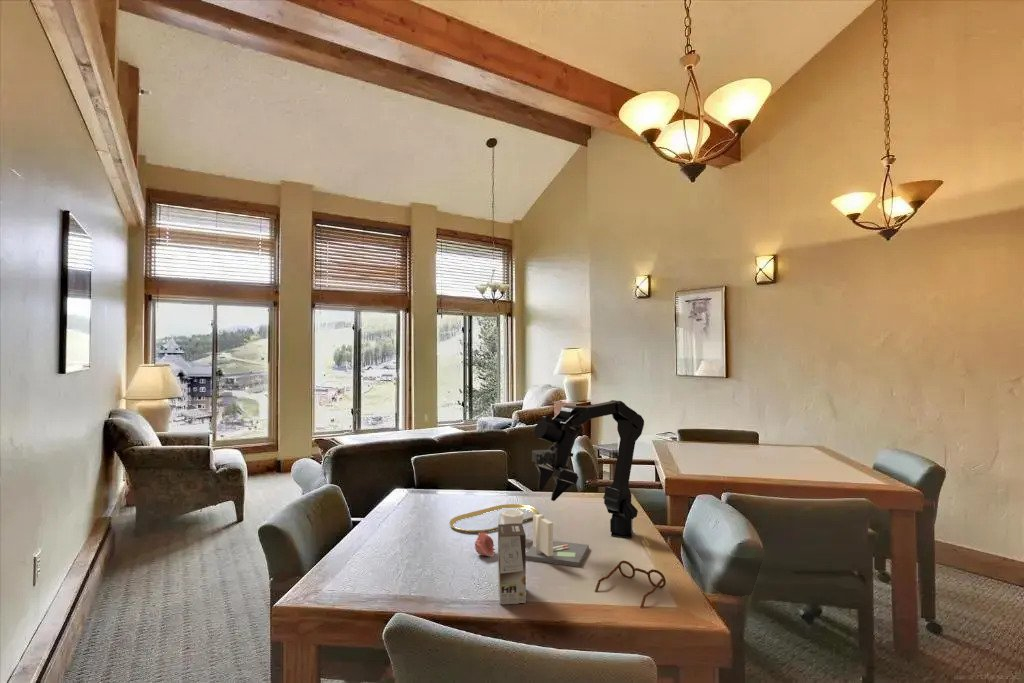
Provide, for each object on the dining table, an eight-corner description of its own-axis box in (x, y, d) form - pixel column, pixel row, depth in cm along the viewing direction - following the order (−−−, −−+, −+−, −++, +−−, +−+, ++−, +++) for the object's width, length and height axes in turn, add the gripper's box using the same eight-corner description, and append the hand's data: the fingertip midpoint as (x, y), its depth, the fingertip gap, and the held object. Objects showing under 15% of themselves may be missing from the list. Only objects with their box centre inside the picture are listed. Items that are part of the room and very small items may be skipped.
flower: (465, 534, 152) (480, 525, 151) (481, 538, 158) (495, 529, 157) (472, 560, 147) (487, 551, 146) (488, 563, 153) (503, 555, 152)
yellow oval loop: (548, 516, 189) (548, 511, 189) (471, 539, 166) (471, 534, 166) (513, 505, 203) (513, 501, 203) (439, 525, 180) (438, 520, 180)
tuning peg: (531, 549, 152) (531, 513, 152) (562, 543, 156) (561, 508, 157) (546, 560, 144) (546, 522, 144) (578, 553, 148) (578, 516, 149)
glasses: (666, 591, 129) (666, 571, 129) (641, 611, 119) (641, 589, 119) (620, 576, 138) (619, 557, 138) (593, 593, 128) (593, 573, 128)
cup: (512, 543, 160) (512, 517, 161) (491, 535, 168) (491, 510, 168) (528, 538, 165) (528, 512, 165) (507, 530, 173) (507, 506, 173)
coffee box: (526, 604, 122) (526, 535, 122) (499, 605, 121) (499, 536, 122) (522, 586, 131) (522, 522, 131) (497, 587, 130) (497, 523, 131)
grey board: (588, 548, 156) (588, 544, 156) (579, 566, 143) (578, 562, 143) (537, 542, 161) (537, 538, 161) (523, 559, 148) (523, 554, 148)
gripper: (528, 432, 163) (511, 479, 161) (554, 446, 145) (535, 499, 144) (557, 441, 167) (541, 488, 165) (586, 456, 149) (568, 508, 148)
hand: (545, 495), depth 156 cm, fingers open, 9 cm apart
